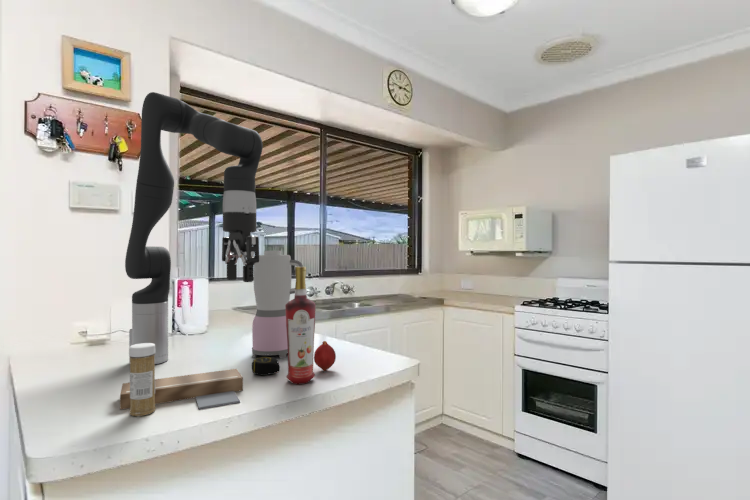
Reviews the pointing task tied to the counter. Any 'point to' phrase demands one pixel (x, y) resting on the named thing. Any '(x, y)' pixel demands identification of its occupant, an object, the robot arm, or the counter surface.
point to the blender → (272, 303)
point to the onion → (324, 356)
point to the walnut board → (189, 386)
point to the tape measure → (265, 365)
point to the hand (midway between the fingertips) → (239, 280)
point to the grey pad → (217, 399)
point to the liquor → (300, 332)
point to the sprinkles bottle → (142, 379)
